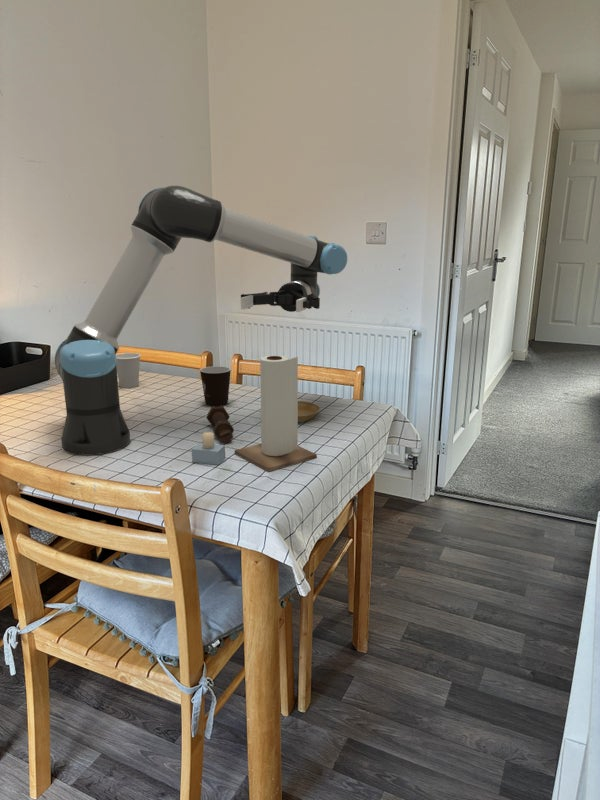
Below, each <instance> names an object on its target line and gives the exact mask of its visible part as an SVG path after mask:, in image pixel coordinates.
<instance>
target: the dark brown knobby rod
mask: <svg viewBox="0 0 600 800" xmlns="http://www.w3.org/2000/svg"><path fill="white" fill-rule="evenodd" d="M205 418H206V419H207V421H208V422H209V424H210V425H211V427H213V429H212V433H214V435H215V437H216V438H217V440H219V441H220V442H221V443H228V442H230V441H232V440H233V437H234V431H235V428H234V427H233V425H232V424H231V422H230V421H229V419H230V415H229V413H228V412H227V410H226V409H225V407H224V406H217V407H212V406H211V408H210V410H209V411H208V412H207V415H206V417H205Z"/></svg>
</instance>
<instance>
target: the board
mask: <svg viewBox="0 0 600 800" xmlns="http://www.w3.org/2000/svg"><path fill="white" fill-rule="evenodd" d="M234 454H235V455H236V456H238V457H240V458H241V459H243V460H246V461H247V462H249V463H250V464H252V465H255V466H257V467H259V469H262V470H264V471H266V472H267V473H269V472H272V471H276V470H281V469H283V468H287V467H289V466H294V465H296V464H299V463H302V462H307V461H310V460H314V459H317V456H318V454H317V453H315V452H312V451H311V450H308V449H307V448H303V447H302V446H299V445H298V449H295V450H293V451H292V452H290V453H288V454H285V455H282V456H268V455H265V454H263V453H262V444H261V443H258V444H254V445H253V444H252V445H249V446H247V447H246V446H245V447H242V448H239V449H234Z"/></svg>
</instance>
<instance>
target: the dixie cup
mask: <svg viewBox="0 0 600 800" xmlns="http://www.w3.org/2000/svg"><path fill="white" fill-rule="evenodd" d="M115 355H116V357H117V364H116V367H117V379H118V384H119V387H120V388H121V387H122V389H134V388H137V387H139V384H140V382H139V380H140V366H141V365H140V361H141V354H140V353H137V352H122V353H121V352H120V353H116V354H115Z"/></svg>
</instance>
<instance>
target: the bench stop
mask: <svg viewBox="0 0 600 800" xmlns="http://www.w3.org/2000/svg"><path fill="white" fill-rule="evenodd" d="M214 435H215V434H214V432H213V431H207V432H206V431H205V432H203V433H202V435H201V436H202V442H199V443H197V444H196V445H195V446H193V448H191V457H192V458H191V459H192V463H199V464H207V465H215V466H219V465H220V464H221V463H222V462H223V461H224V460H225V459H226V445H225V444H224V445H223V444H215V436H214Z"/></svg>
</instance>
